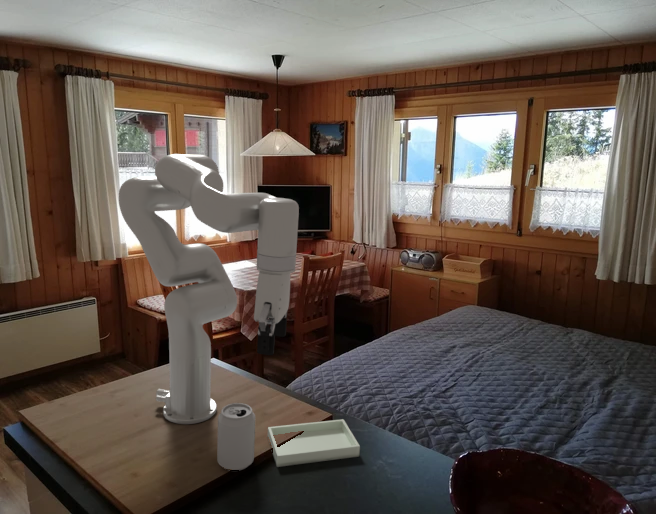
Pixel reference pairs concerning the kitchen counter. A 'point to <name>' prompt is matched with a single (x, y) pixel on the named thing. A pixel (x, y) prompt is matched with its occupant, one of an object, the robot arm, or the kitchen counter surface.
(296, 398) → the kitchen counter surface
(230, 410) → the can
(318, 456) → the tray
